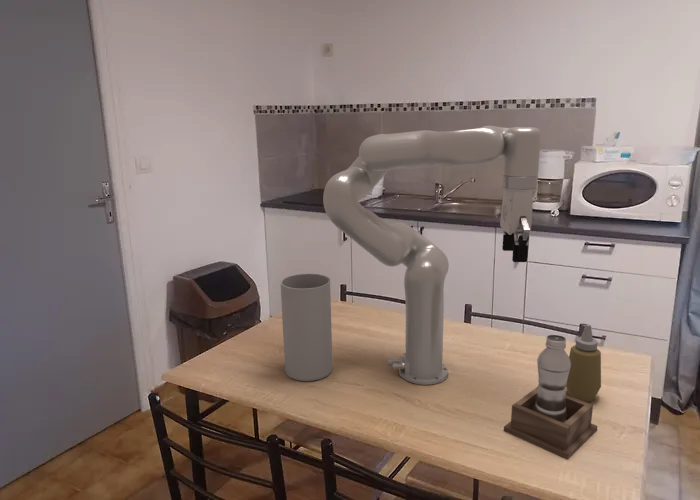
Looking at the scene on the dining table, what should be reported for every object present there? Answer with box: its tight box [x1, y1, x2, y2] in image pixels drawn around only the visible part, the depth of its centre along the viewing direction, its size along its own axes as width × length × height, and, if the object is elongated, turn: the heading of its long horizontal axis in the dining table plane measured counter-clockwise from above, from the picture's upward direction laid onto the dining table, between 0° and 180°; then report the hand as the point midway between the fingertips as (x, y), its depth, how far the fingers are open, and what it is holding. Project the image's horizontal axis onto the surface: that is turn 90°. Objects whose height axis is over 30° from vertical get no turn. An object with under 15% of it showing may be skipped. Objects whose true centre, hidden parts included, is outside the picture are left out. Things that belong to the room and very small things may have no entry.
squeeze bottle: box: [566, 324, 602, 403], centre depth 128 cm, size 8×8×18 cm
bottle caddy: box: [503, 386, 598, 460], centre depth 116 cm, size 14×14×6 cm
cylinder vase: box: [280, 273, 333, 382], centre depth 142 cm, size 12×12×25 cm
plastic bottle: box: [533, 334, 571, 423], centre depth 115 cm, size 6×7×20 cm
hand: (514, 255), depth 128 cm, fingers open, 9 cm apart
